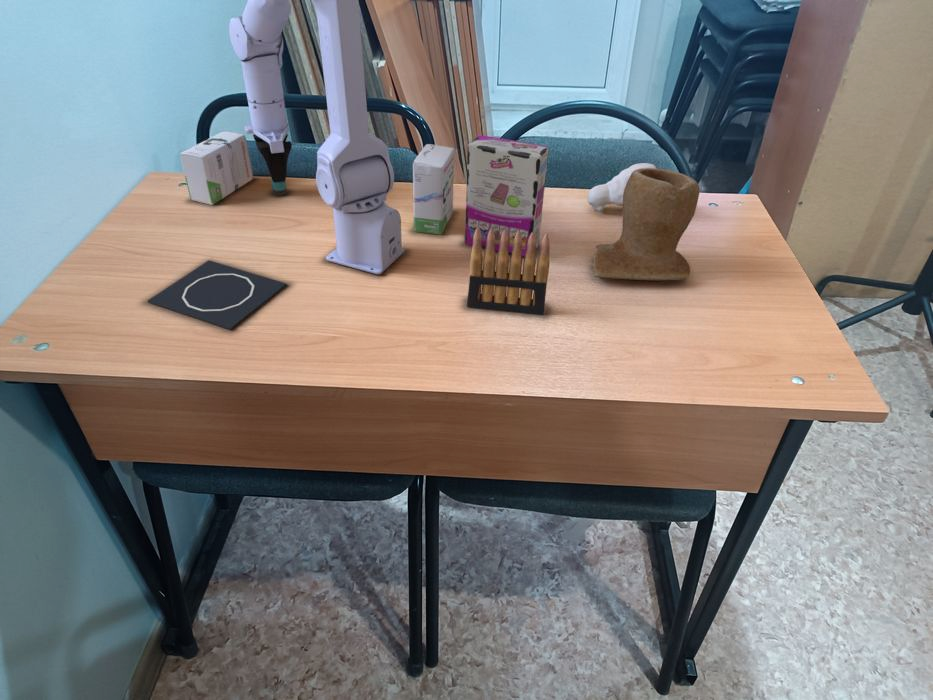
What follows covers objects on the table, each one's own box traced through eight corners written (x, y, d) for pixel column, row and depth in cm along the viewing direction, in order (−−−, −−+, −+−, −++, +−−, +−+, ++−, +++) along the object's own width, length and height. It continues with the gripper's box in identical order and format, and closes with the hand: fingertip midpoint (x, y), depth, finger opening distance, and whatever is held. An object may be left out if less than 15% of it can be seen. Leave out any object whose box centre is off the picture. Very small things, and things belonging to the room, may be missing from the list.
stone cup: (675, 250, 104) (698, 160, 95) (695, 290, 95) (723, 195, 86) (581, 247, 104) (595, 156, 95) (592, 287, 95) (609, 191, 85)
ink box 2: (442, 235, 105) (443, 166, 98) (412, 231, 106) (411, 162, 99) (453, 212, 112) (455, 145, 105) (426, 209, 113) (425, 142, 105)
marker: (290, 192, 116) (282, 142, 110) (281, 197, 114) (274, 147, 109) (279, 189, 117) (271, 140, 111) (270, 194, 115) (262, 144, 109)
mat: (287, 285, 92) (286, 283, 92) (230, 330, 84) (230, 328, 84) (209, 261, 97) (208, 259, 96) (147, 302, 88) (147, 300, 88)
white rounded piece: (665, 171, 107) (593, 176, 107) (659, 218, 112) (590, 222, 112) (656, 156, 112) (586, 161, 112) (650, 202, 117) (583, 206, 117)
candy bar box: (539, 245, 104) (551, 145, 94) (529, 260, 100) (541, 157, 90) (474, 231, 107) (479, 132, 97) (463, 244, 103) (466, 143, 93)
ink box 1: (189, 200, 112) (231, 176, 121) (214, 205, 111) (254, 180, 120) (178, 151, 107) (222, 129, 116) (203, 156, 105) (246, 134, 114)
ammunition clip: (466, 307, 90) (469, 229, 82) (468, 299, 91) (471, 222, 84) (544, 315, 89) (554, 237, 81) (544, 307, 90) (554, 230, 83)
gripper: (235, 87, 109) (249, 164, 118) (245, 115, 99) (259, 198, 107) (278, 83, 111) (289, 160, 120) (292, 111, 101) (302, 192, 109)
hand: (278, 177), depth 114 cm, fingers closed on marker, 2 cm apart
